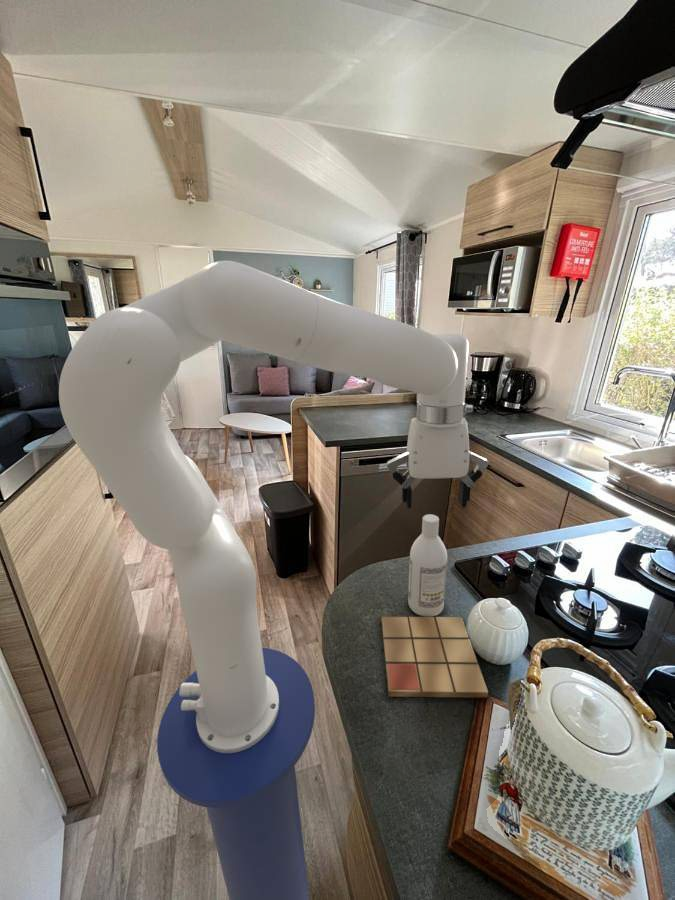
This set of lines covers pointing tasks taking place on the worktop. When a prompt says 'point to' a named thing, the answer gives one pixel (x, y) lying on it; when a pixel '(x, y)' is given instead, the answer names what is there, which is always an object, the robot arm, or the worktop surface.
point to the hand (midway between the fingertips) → (434, 504)
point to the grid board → (430, 658)
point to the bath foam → (427, 570)
